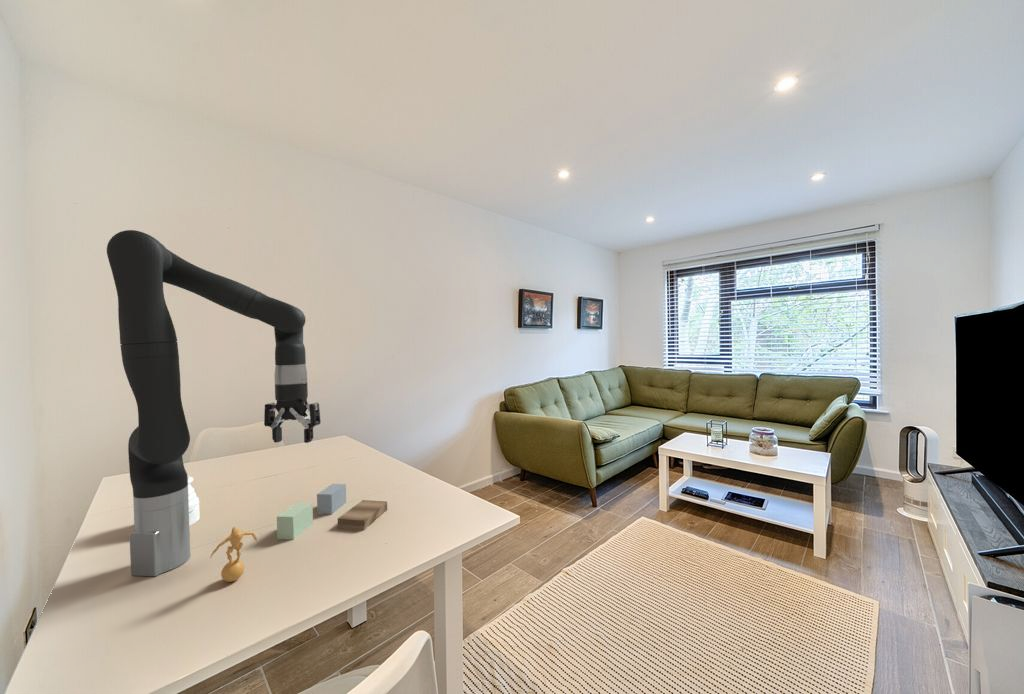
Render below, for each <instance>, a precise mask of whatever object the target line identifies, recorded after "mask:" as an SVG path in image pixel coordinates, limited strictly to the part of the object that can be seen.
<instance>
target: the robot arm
mask: <svg viewBox="0 0 1024 694" xmlns="http://www.w3.org/2000/svg"><path fill="white" fill-rule="evenodd" d="M106 255H107V256H106V257H107V259H108V263H109V266H110V267H109V268H110V270H111V273H112V277H113V281H114V285H115V290H116V293H117V310H118V311H117V315H118V329H119V345H120V352H121V361H122V366H123V370H124V372H125V377H126V378H127V381H128V384H129V386H130V389H131V391H132V394H133V396H134V398H135V402H136V406H137V419H138V420H137V421H138V424H137V425H138V426H137V427H136V428H135V429H133V431H132V432H131V433H130V436H129V438H128V443H127V444H128V445H127V446H128V447H127V449H128V450H127V452H128V466H129V468H128V469H129V479H130V484H131V486H132V496H133V497H132V498H133V499H132V500H133V527H134V530H133V531H130V532H129V554H130V555H129V556H130V558H129V559H130V561H129V562H130V575H131V576H141V577H142V576H144V577H146V576H147V577H157V576H159V575H160V574H162V573H165V572H168V571H171V570H174V569H175V568H177V567H180V566H182V565H183V564H184V563H186V562H187V561H188V560H189V559H190V557H191V538H190V535H191V533H190V526H189V502H188V476H189V475H188V473H187V470H186V468H185V464H184V460H183V456H184V454H185V453H186V451H187V450H188V448H189V446H190V441H191V436H190V432H189V430H190V429H189V426H188V423H187V419H186V415H185V411H184V406H183V401H182V394H181V389H182V388H181V387H182V386H181V371H180V369H181V368H180V353H179V346H178V336H177V333H176V328H175V325H174V322H173V319H172V316H171V314H170V311H169V309H168V306H167V302H166V299H165V294H164V283H165V284H167V285H172V286H175V287H176V288H180V289H183V290H186V291H188V292H191V293H193V294H196V295H197V296H200V297H202V298H204V299H206V300H208V301H210V302H212V303H214V304H217V305H218V306H221V307H223V308H225V309H227V310H230V311H232V312H235V313H237V314H239V315H242V316H244V317H247V318H249V319H254V320H257V321H260V322H262V323H264V324H267V325H269V326H271V327H273V329H274V339H275V340H274V341H275V348H274V349H275V350H274V362H275V363H274V364H275V366H274V367H275V368H274V398H275V399H274V400H276V403H275V402H270V403H265V404H264V422H263V423H264V426H265V427H269V428H271V431H272V432H271V434H272V441H273V442H274V443H277V444H278V443H280V442H282V441H283V428H282V427H281V426H282V425H283V424H284V422H285V421H289V420H291V421H297V422H298V423H300V424H301V425H302V426H303V428H304V429H303V442H304V443H305V444H309V443H311V442H312V441H313V440H314V427H316V426H319V425H320V424H321V411H320V404H319V403H318V402H313V403H308V397H309V396H308V394H309V393H308V392H309V391H308V371H307V365H306V364H307V363H306V361H307V360H306V359H307V358H306V357H307V356H306V348H305V345H304V326H305V325H306V316H305V314H304V311H302V310H301V309H300V308H298V307H297V306H294V305H293V304H290V303H287V302H285V301H282V300H280V299H276V298H273V297H270V296H268V295H266V294H265V293H262V291H258V290H256V289H255V288H252V287H250V286H247V285H246V284H243V283H241V282H239V281H236V280H233V279H230V278H227V277H225V276H223V275H220V274H217V273H214V272H211V271H208V270H207V269H204V268H203V267H199V266H197V265H195V264H193V263H192V262H189V261H187V260H185V259H184V258H182V257H180V256H179V255H178V254H176V253H174V252H172V251H171V250H170V249H167V247H166V246H165V245H164V244H163V243H161V242H160V241H159V240H158V239H156V238H155V237H153V236H151V234H148V233H145V232H143V231H139V230H137V229H136V230H134V229H127V230H121V231H119V232H117V233H115V234H114V235H112V236H111V238H110V239H109V240H108V243H107V246H106ZM276 411H277V414H276ZM307 411H308V412H309V413H308V412H307Z"/></svg>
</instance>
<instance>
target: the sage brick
mask: <svg viewBox="0 0 1024 694" xmlns="http://www.w3.org/2000/svg"><path fill="white" fill-rule="evenodd" d="M313 513H314V512H313V503H311V502H310V503H309V502H308V503H307V502H306V503H305V502H297V503H294V505H291V506H290V507H289V508H287V509H286V510H284V511H283V512H282V513H280V514H278V515H277V516H276V536H277V537H276V538H277V540H290V541H291V540H295V539H297V538H298V537H299V536H300V535H302V534H303V533H304V532H305V531H306V530H308V529H309V528H311V526H313V525H314V516H313Z"/></svg>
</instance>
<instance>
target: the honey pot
mask: <svg viewBox="0 0 1024 694" xmlns="http://www.w3.org/2000/svg"><path fill="white" fill-rule="evenodd" d="M187 476H188V502H189V527H191V526H192V525H193V524H195V523H196V522H198V521H199V519H201V514H200V511H201V510H200V499H199V497H198V496H197V492H195V488H194V487H192V485H191V483H192V482H193V481H194V477H192V476H190V475H187Z"/></svg>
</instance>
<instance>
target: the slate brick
mask: <svg viewBox="0 0 1024 694" xmlns="http://www.w3.org/2000/svg"><path fill="white" fill-rule="evenodd" d="M346 503H347V484H346V483H331V484H330V485H328V486H327V487H325V488H323V490H321V491H320V492H318V493H316V505H317V506H316V507H317V508H316V509H317V511H316V513H317V515H333V514H335V512H337V511H338V510H339V509H341V508H342V507H343V506H344V505H345V504H346Z"/></svg>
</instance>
